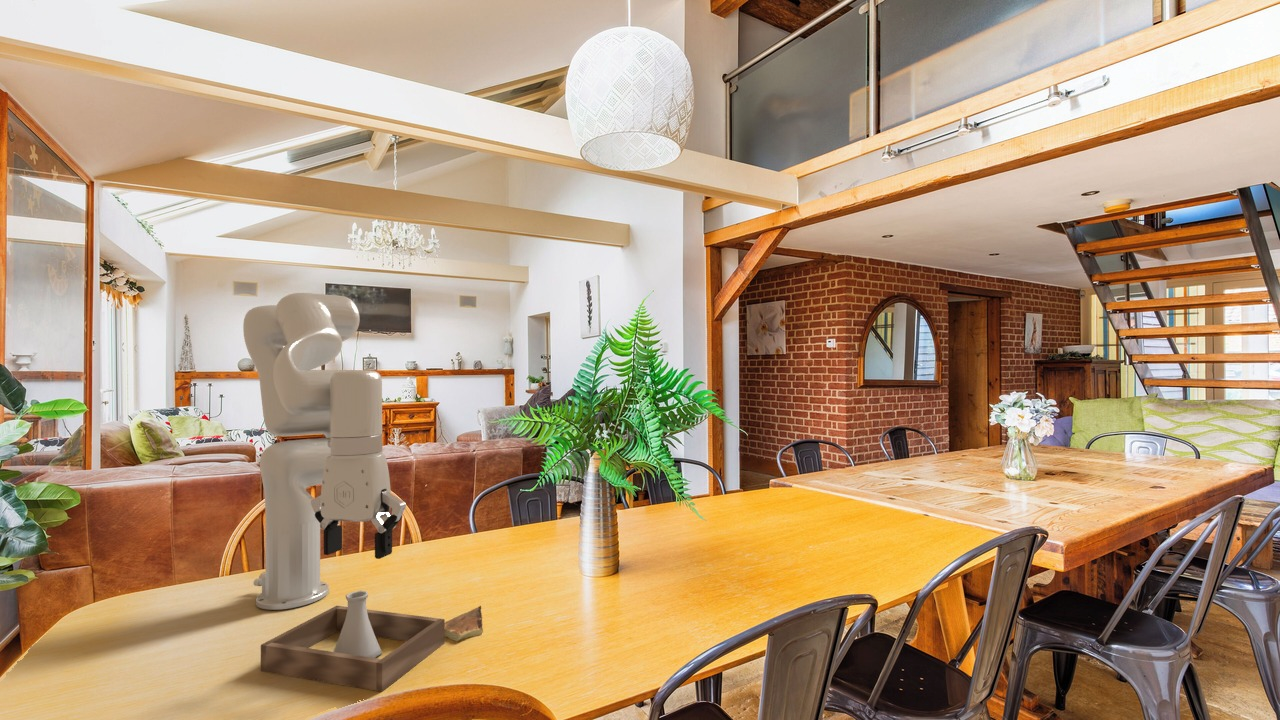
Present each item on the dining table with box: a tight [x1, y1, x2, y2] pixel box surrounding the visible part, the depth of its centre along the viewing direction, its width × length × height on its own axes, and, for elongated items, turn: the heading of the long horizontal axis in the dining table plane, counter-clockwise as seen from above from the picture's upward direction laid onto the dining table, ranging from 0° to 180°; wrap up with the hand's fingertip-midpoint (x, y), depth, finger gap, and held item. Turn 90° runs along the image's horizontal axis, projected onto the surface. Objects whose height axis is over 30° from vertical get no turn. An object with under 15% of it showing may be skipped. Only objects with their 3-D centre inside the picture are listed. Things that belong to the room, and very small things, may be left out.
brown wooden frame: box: [260, 605, 446, 693], centre depth 93 cm, size 22×15×4 cm
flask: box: [332, 590, 382, 658], centre depth 93 cm, size 7×7×10 cm
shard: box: [445, 605, 484, 642], centre depth 103 cm, size 11×8×2 cm
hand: (357, 554), depth 92 cm, fingers open, 9 cm apart
